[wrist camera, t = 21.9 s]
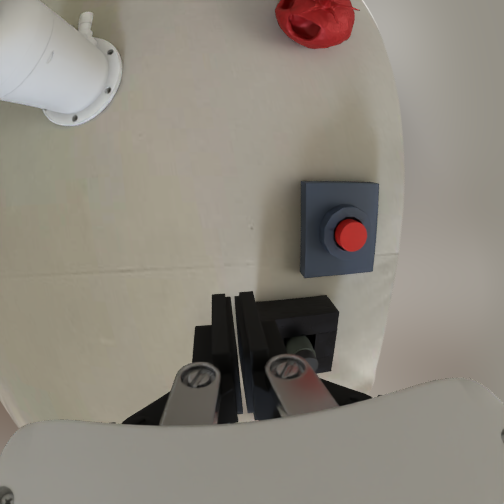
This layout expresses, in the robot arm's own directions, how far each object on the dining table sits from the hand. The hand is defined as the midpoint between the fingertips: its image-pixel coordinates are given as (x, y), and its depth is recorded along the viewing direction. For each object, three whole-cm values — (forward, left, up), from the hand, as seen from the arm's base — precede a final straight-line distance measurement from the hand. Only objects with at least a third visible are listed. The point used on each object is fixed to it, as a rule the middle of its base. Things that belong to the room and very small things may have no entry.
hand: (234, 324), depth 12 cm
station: (+2, +15, -25) cm, 29 cm away
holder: (+17, +9, -25) cm, 31 cm away
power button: (+2, +15, -21) cm, 26 cm away
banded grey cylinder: (+17, +9, -25) cm, 31 cm away
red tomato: (-26, +12, -25) cm, 38 cm away
